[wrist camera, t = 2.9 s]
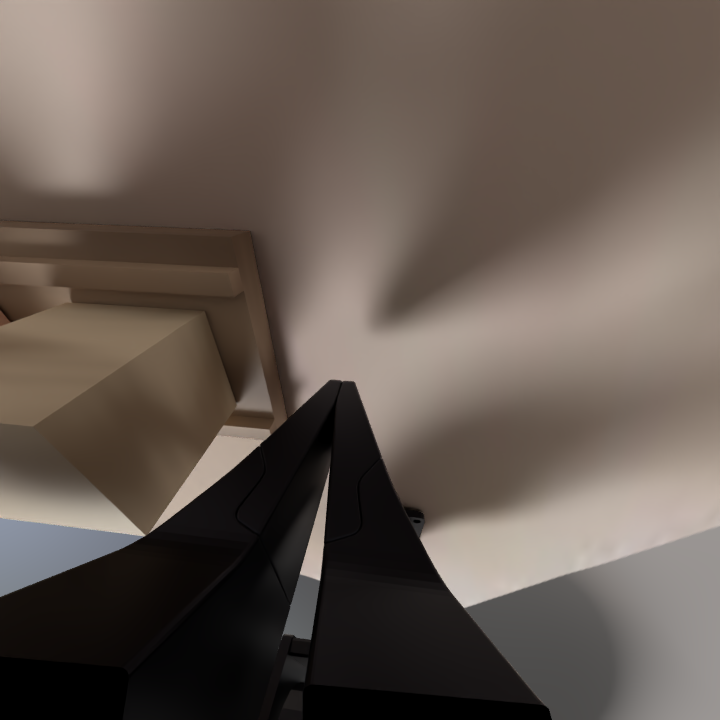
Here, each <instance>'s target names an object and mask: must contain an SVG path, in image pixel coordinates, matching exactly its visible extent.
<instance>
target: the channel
mask: <svg viewBox="0 0 720 720" xmlns="http://www.w3.org/2000/svg"><path fill="white" fill-rule="evenodd" d="M67 302H71V303H87V304H103V305H118V306H134V307H150V308H166V309H182V310H198V311H205V314H206V317H207V320H208V323H209V326H210V329H211V331H212V334H213V337H214V340H215V343H216V346H217V349H218V352H219V355H220V358H221V360H222V363H223V366H224V369H225V372H226V375H227V378H228V381H229V384H230V387H231V390H232V392H233V395H234V398H235V401H236V404H237V407H236V408H235V410H234V411H233V413H232V414H231V415H230V417H229V418H228V420H227V421H226V423H225V424H224V425H223V427H222V428H221V430H220V431H219V433H218V434H217V435H218V436H228V437H239V438H249V439H259V440H266V439H267V438H268V437H269V436H270V435H271V434H272V433H273V432H274V431H275V430H276V429H277V428H279V427H280V426H281V425H282V424H283V423H284V422H285V421H286V420H287V415H286V410H285V405H284V400H283V395H282V389H281V384H280V379H279V374H278V369H277V364H276V359H275V354H274V349H273V344H272V339H271V334H270V329H269V324H268V319H267V314H266V309H265V304H264V299H263V294H262V289H261V284H260V279H259V274H258V269H257V264H256V259H255V254H254V249H253V243H252V238H251V233H250V231H241V230H216V229H192V228H167V227H142V226H118V225H93V224H69V223H44V222H20V221H0V310H1V312H2V313H3V314H4V315H5V316H6V318H7V319H8V320H9V321H10V322H14V321H17V320H20V319H22V318H25V317H28V316H31V315H33V314H36V313H39V312H42V311H44V310H47V309H50V308H53V307H56V306H58V305H61V304H64V303H67Z"/></svg>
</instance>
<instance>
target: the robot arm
mask: <svg viewBox="0 0 720 720" xmlns="http://www.w3.org/2000/svg"><path fill="white" fill-rule="evenodd" d="M329 469H330V473H329V486H328V499H327V511H326V524H325V537H324V549H323V561H322V570H321V579H320V586H319V593H318V599H317V605H316V612H315V618H314V625H313V632H312V638H311V640H308V639H300V638H296V637H295V636H294V635H289V634H284V635H283V637H282V634H283V631H284V627H285V624H286V620H287V617H288V613H289V610H290V605H291V602H292V598H293V595H294V592H295V588H296V585H297V581H298V578H299V574H300V571H301V567H302V564H303V560H304V557H305V553H306V550H307V546H308V542H309V539H310V535H311V532H312V528H313V525H314V521H315V518H316V514H317V511H318V507H319V504H320V500H321V497H322V493H323V490H324V486H325V483H326V479H327V476H328V472H329ZM424 523H425V520H424V514H423V513H422V512H419V511H411V510H404V508H403V506H402V504H401V501H400V499H399V497H398V495H397V493H396V491H395V489H394V487H393V484H392V482H391V479H390V477H389V474H388V472H387V469H386V466H385V464H384V461H383V459H382V456H381V453H380V450H379V448H378V445H377V442H376V439H375V437H374V434H373V431H372V428H371V425H370V423H369V420H368V417H367V414H366V412H365V409H364V406H363V403H362V401H361V398H360V395H359V392H358V389H357V387H356V384H355V382H353V381H343V382H342V381H341V380H329V381H328V382H327V383H326V384H325V385H324V386H323V387H322V388H321V389H320V390H319V391H317V392H316V393H315V394H314V395H313V396H312V397H311V398H310V399H309V400H308V401H307V402H306V403H304V404H303V405H302V406H301V407H300V408H299V409H298V410H297V411H296V412H295V413H294V414H293V415H291V416H290V417H289V418H288V419H287V420H286V421H285V422H284V423H283V424H282V425H281V426H280V427H279V428H277V429H276V430H275V431H274V432H273V433H272V434H271V435H270V436H269V437H268V438H267V439H266V440H264V441H263V442H262V443H261V444H260V446H258V447H257V448H256V449H255V450H254V451H252V452H251V453H250V454H249V455H248V456H247V457H246V458H245V459H244V460H242V461H241V462H240V463H239V464H238V465H237V466H236V467H234V468H233V469H232V470H231V471H230V472H228V473H227V474H226V475H225V476H223V477H222V478H221V479H220V480H219V481H217V482H216V483H215V484H214V485H212V486H211V487H210V488H208V489H207V490H206V491H205V492H203V493H202V494H201V495H199V496H198V497H197V498H195V499H194V500H193V501H192V502H190V503H189V504H188V505H186V506H185V507H184V508H183V509H181V510H180V511H179V512H177V513H176V514H175V515H173V516H172V517H171V518H170V519H168V520H167V521H166V522H164V523H163V524H162V525H160V526H159V527H158V528H156V529H155V530H153V531H152V532H150V533H149V534H147V535H146V536H144V537H143V538H141V539H139V540H137V541H136V542H134V543H132V544H130V545H128V546H126V547H124V548H122V549H120V550H118V551H115V552H112V553H110V554H107V555H105V556H102V557H100V558H97V559H95V560H92V561H90V562H87V563H85V564H82V565H80V566H77V567H75V568H72V569H70V570H67V571H65V572H62V573H60V574H57V575H55V576H52V577H50V578H47V579H45V580H42V581H39V582H37V583H35V584H32V585H29V586H27V587H24V588H22V589H19V590H17V591H14V592H12V593H9V594H7V595H4V596H2V597H0V720H552V719H551V716H550V711H549V709H548V708H547V707H546V706H545V704H544V703H543V702H542V701H541V700H540V699H539V698H538V697H537V696H536V694H535V693H534V692H533V691H532V690H531V688H530V687H529V686H528V685H527V684H526V682H525V681H524V680H523V679H522V677H521V676H520V675H519V674H518V673H517V671H516V670H515V669H514V668H513V667H512V666H511V664H510V663H509V662H508V661H507V660H506V658H505V657H504V656H503V655H502V653H501V652H500V651H499V650H498V649H497V647H496V646H495V645H494V644H493V643H492V642H491V640H490V639H489V638H488V637H487V635H486V634H485V633H484V632H483V631H482V629H481V628H480V627H479V626H478V625H477V623H476V622H475V621H474V620H473V618H471V616H470V615H469V614H468V612H467V611H466V610H465V609H464V608H463V606H462V605H461V604H460V603H459V602H458V600H457V599H456V598H455V597H454V595H453V594H452V593H451V592H450V590H449V589H448V588H447V586H446V585H445V583H444V581H443V580H442V578H441V577H440V575H439V574H438V572H437V570H436V568H435V567H434V565H433V563H432V561H431V559H430V558H429V556H428V554H427V552H426V550H425V548H424V546H423V544H422V542H421V540H420V538H419V537H420V534H421V531H422V529H423V526H424ZM281 638H282V640H281ZM278 648H279V649H278Z"/></svg>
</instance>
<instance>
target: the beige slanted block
mask: <svg viewBox="0 0 720 720" xmlns="http://www.w3.org/2000/svg"><path fill="white" fill-rule="evenodd" d="M236 407H237V404H236V401H235V398H234V395H233V392H232V390H231V387H230V384H229V381H228V378H227V375H226V372H225V369H224V366H223V363H222V360H221V358H220V355H219V352H218V349H217V346H216V343H215V340H214V337H213V334H212V331H211V329H210V326H209V323H208V320H207V317H206V314H205V311H198V310H182V309H166V308H150V307H134V306H118V305H103V304H87V303H71V302H67V303H64V304H61V305H58V306H56V307H53V308H50V309H47V310H44V311H42V312H39V313H36V314H33V315H31V316H28V317H25V318H22V319H20V320H17V321H14V322H11V323H8V324H6V325H3V326H0V518H5V519H13V520H21V521H29V522H38V523H45V524H53V525H61V526H69V527H77V528H84V529H93V530H100V531H108V532H116V533H125V534H133V535H140V536H146V535H147V534H149V532H150V531H151V529H152V528H153V526H154V525H155V523H156V522H157V521H158V519H159V518H160V516H161V515H162V513H163V512H164V510H165V509H166V508H167V506H168V505H169V503H170V502H171V500H172V499H173V497H174V496H175V495H176V493H177V492H178V490H179V489H180V487H181V486H182V485H183V483H184V482H185V480H186V479H187V477H188V476H189V474H190V473H191V472H192V470H193V469H194V467H195V466H196V464H197V463H198V461H199V460H200V459H201V457H202V456H203V454H204V453H205V451H206V450H207V449H208V447H209V446H210V444H211V443H212V441H213V440H214V438H215V437H216V436H217V434H218V433H219V431H220V430H221V428H222V427H223V425H224V424H225V423H226V421H227V420H228V418H229V417H230V415H231V414H232V413H233V411H234V410H235V408H236Z"/></svg>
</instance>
